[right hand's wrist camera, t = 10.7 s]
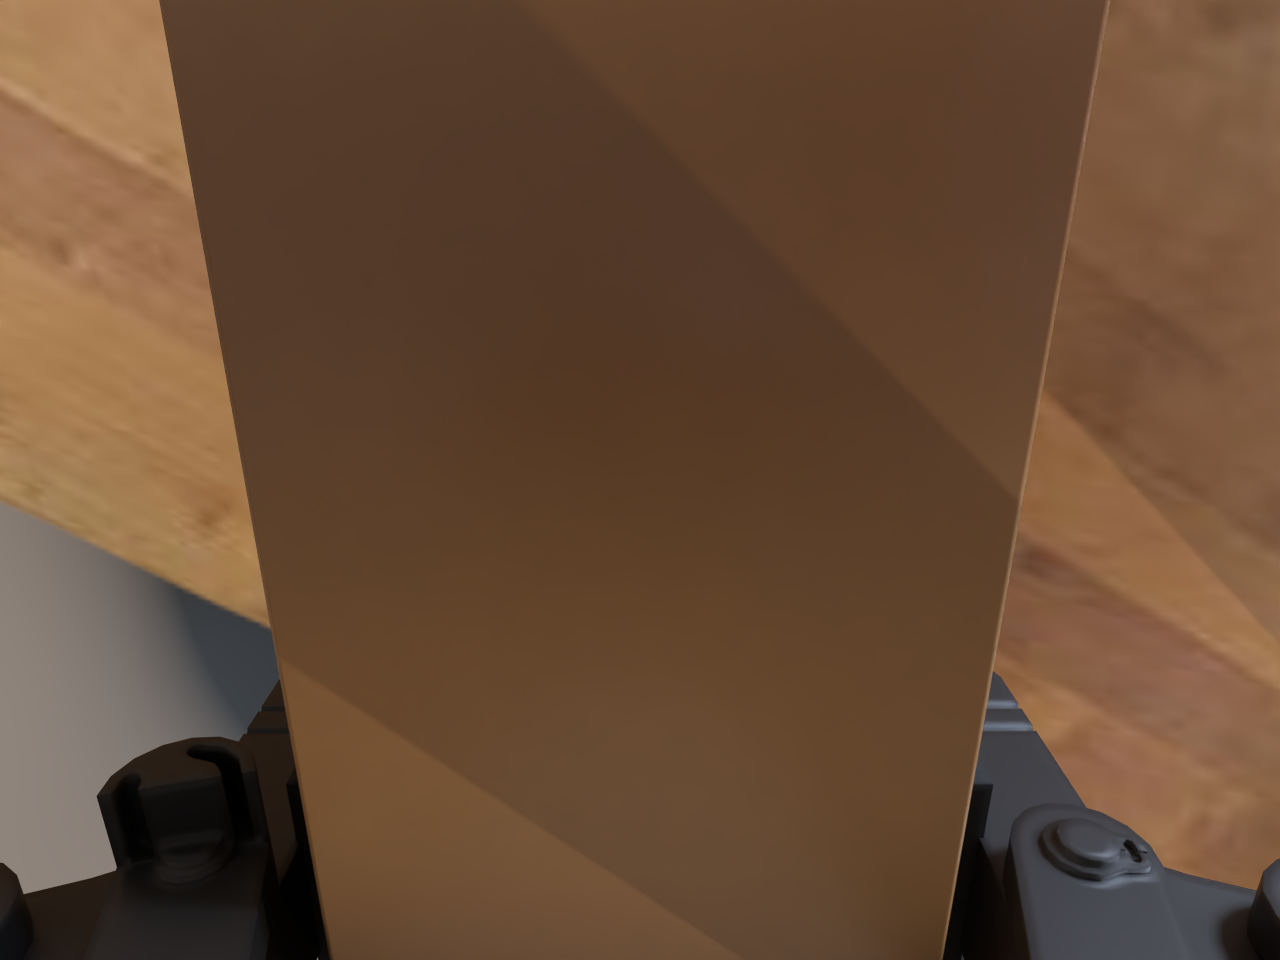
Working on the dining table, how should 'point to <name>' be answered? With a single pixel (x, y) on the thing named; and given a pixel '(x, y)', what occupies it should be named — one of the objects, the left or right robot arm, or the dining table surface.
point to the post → (635, 445)
